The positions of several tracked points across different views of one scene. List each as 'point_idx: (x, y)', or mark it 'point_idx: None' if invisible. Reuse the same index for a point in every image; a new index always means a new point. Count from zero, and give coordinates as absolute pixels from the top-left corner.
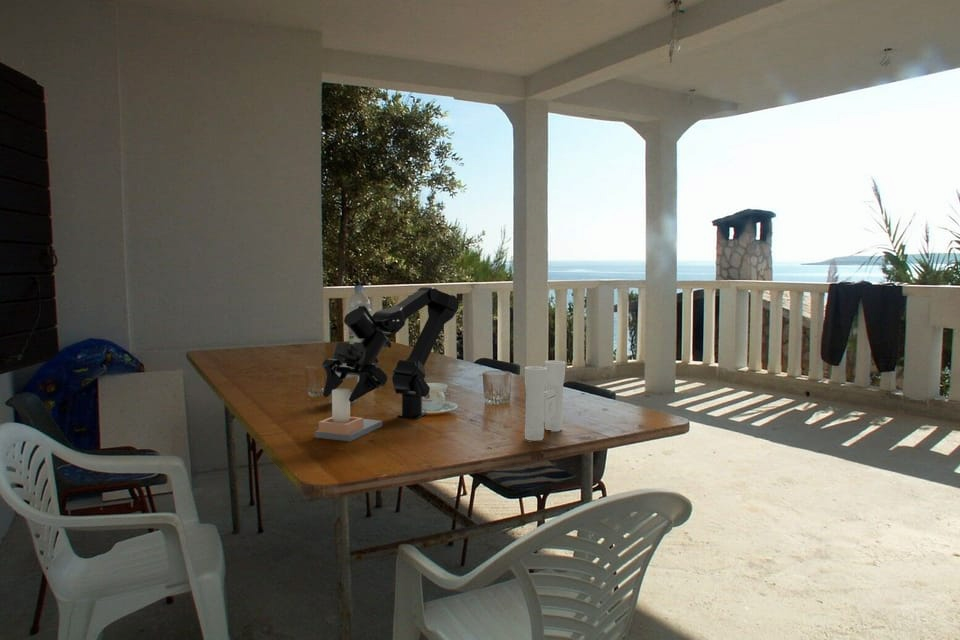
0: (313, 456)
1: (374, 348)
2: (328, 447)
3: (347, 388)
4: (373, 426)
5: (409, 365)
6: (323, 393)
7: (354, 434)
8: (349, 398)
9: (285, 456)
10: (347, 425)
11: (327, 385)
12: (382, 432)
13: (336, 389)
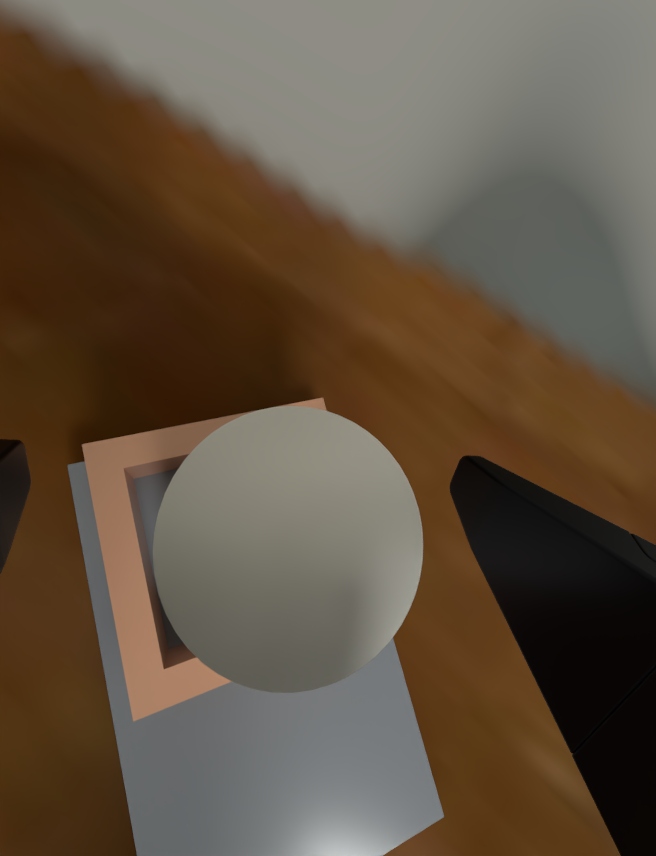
0: (54, 167)
1: None
2: (107, 316)
3: None
4: (132, 810)
5: None
6: (487, 460)
7: (77, 517)
8: (5, 445)
9: (176, 128)
10: (85, 456)
11: (560, 515)
12: (32, 814)
13: (388, 532)
